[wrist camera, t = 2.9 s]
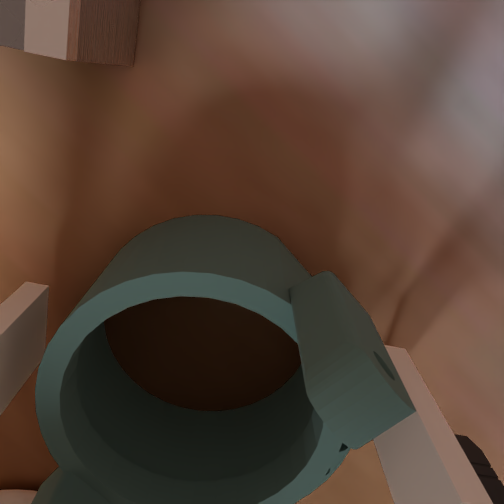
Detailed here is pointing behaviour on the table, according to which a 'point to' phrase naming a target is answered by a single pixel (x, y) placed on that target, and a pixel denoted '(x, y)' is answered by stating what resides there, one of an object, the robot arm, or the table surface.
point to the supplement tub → (17, 496)
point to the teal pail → (212, 422)
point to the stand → (72, 29)
